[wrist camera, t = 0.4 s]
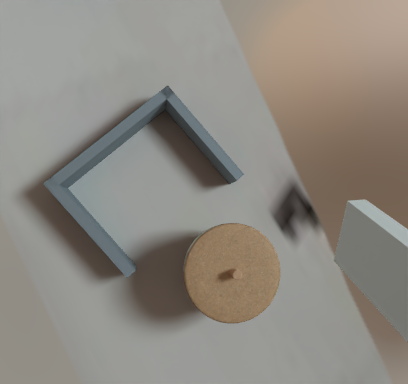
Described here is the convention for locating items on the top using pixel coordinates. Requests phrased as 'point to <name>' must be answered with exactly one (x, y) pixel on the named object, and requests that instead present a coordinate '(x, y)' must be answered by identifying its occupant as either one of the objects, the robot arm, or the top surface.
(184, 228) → the top surface
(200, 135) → the corral
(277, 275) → the lidded jar
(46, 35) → the top surface
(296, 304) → the top surface
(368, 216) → the robot arm
